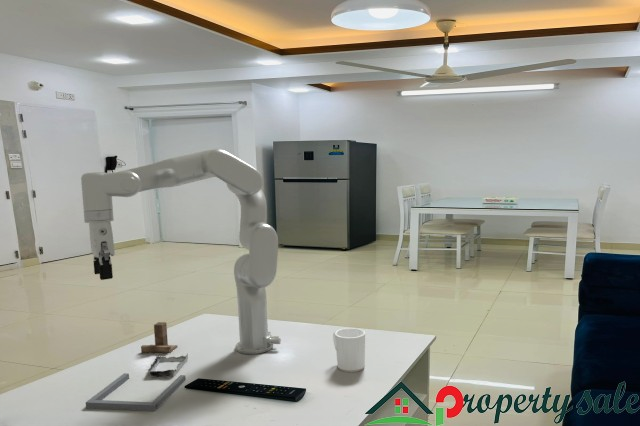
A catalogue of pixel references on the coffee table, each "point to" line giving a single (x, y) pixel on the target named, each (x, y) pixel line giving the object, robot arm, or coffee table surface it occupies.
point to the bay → (131, 405)
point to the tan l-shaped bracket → (159, 341)
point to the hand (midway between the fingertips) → (103, 276)
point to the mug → (350, 349)
